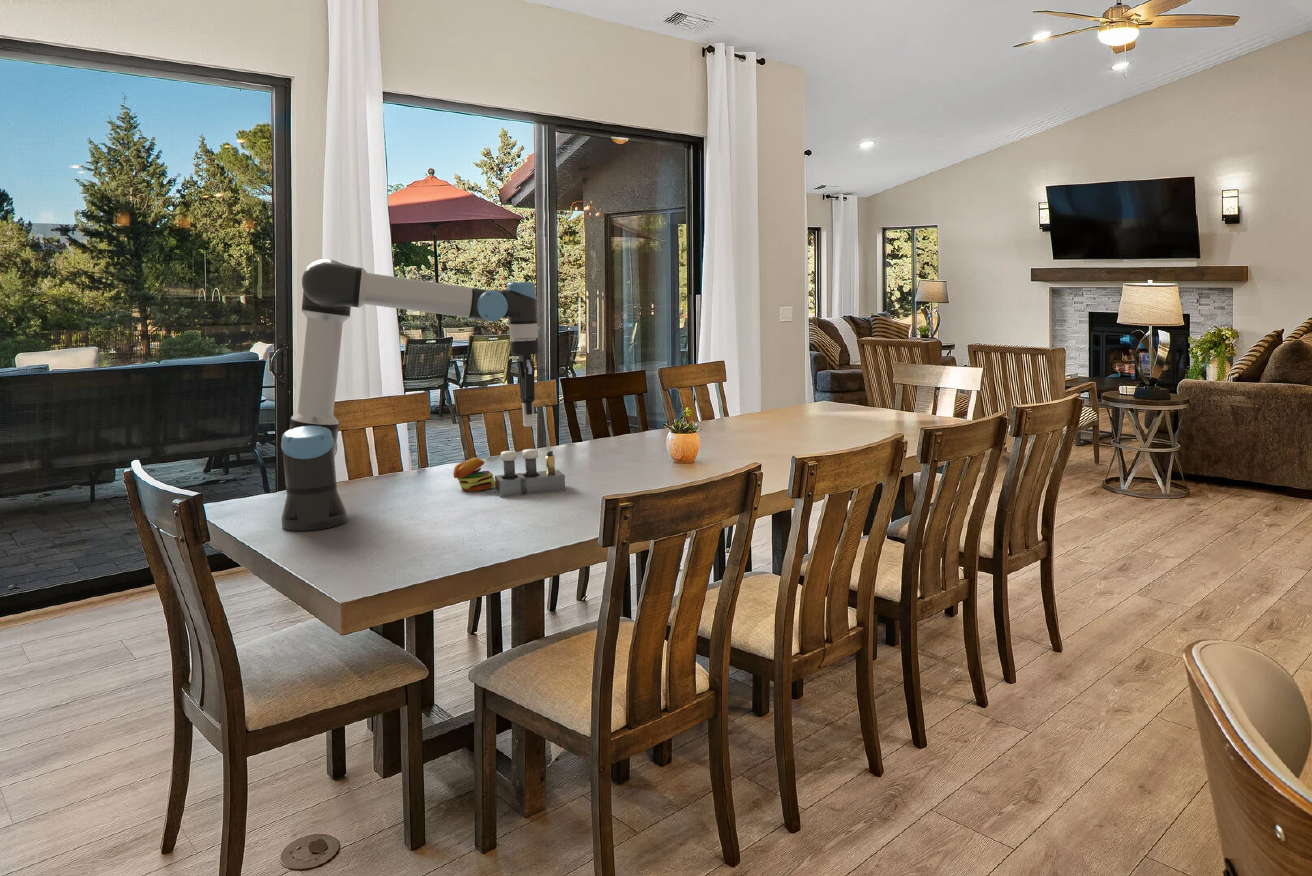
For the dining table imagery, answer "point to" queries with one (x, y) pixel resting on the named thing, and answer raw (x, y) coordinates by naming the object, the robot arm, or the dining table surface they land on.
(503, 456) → the knob
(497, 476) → the mount
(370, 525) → the dining table surface
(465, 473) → the cheeseburger
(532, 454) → the knob
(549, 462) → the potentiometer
